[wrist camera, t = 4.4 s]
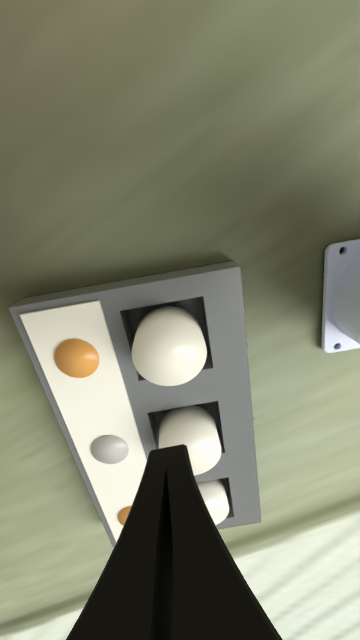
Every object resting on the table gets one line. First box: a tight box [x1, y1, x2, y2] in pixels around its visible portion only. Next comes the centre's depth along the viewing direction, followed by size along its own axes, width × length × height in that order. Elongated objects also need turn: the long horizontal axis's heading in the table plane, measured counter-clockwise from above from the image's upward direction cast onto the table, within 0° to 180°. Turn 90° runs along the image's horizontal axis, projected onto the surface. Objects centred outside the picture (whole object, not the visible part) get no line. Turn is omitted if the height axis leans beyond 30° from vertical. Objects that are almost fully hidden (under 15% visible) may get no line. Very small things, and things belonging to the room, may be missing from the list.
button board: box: [8, 261, 261, 547], centre depth 21 cm, size 14×24×2 cm, turn 10°
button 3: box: [197, 478, 229, 525], centre depth 24 cm, size 4×4×2 cm
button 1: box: [132, 306, 207, 386], centre depth 17 cm, size 4×4×2 cm
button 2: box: [159, 405, 221, 475], centre depth 20 cm, size 4×4×2 cm
